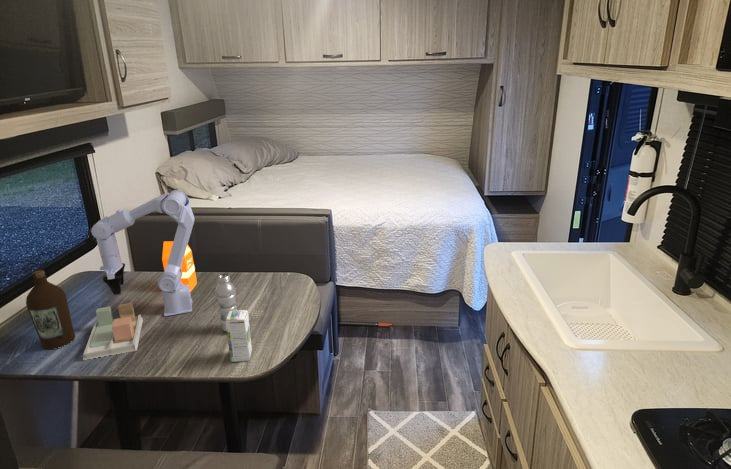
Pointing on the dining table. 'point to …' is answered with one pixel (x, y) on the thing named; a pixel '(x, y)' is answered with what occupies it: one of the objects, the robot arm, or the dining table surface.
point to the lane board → (113, 344)
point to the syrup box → (238, 335)
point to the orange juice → (187, 264)
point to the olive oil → (49, 312)
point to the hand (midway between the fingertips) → (118, 289)
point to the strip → (103, 327)
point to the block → (122, 328)
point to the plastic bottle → (225, 297)
